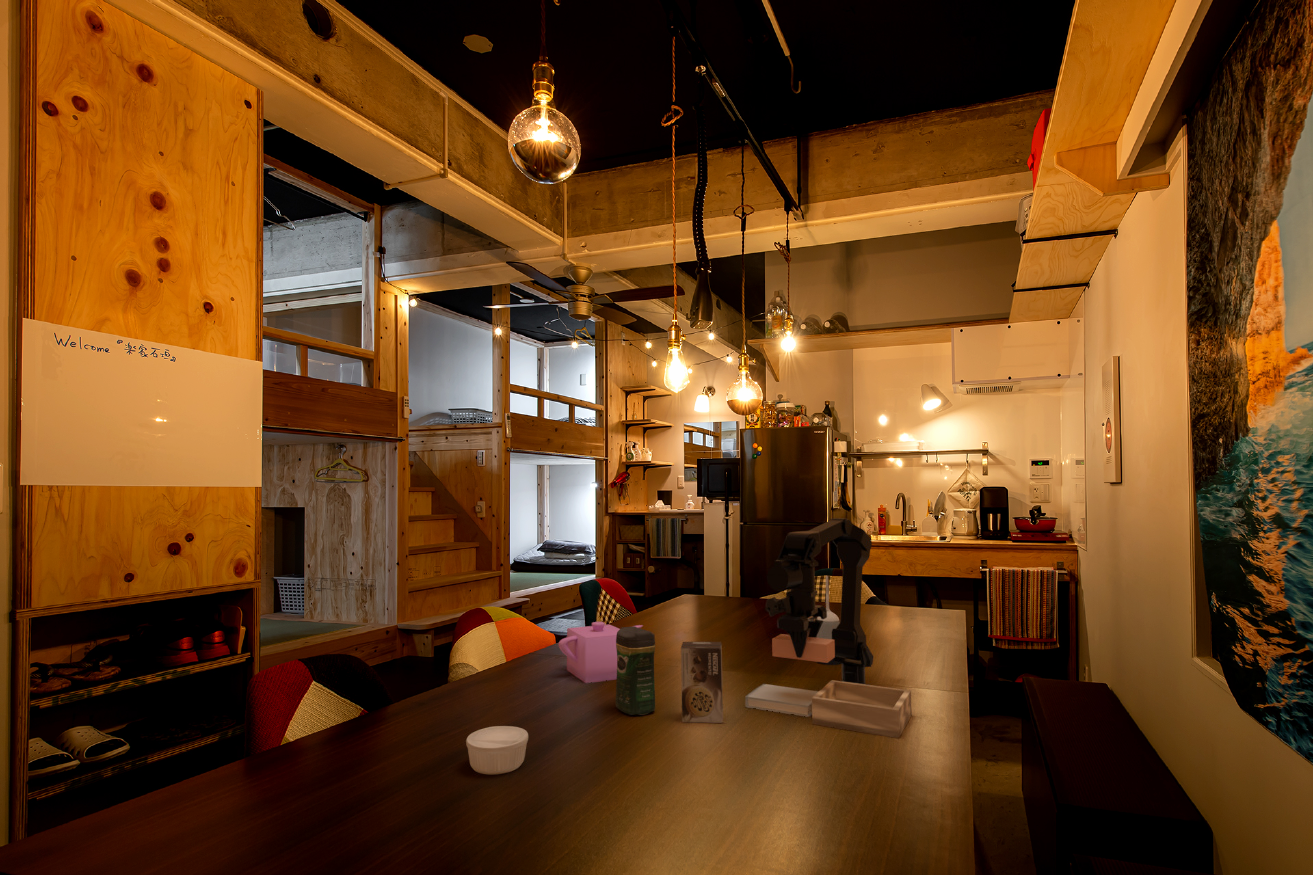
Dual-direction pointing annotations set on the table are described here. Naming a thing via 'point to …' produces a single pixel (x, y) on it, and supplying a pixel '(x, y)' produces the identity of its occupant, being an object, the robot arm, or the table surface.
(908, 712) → the shelf tray
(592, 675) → the teapot
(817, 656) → the terracotta rectangular block
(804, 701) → the book pile base
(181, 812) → the table surface
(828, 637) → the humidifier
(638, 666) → the coffee jar
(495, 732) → the ramekin
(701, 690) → the coffee box
